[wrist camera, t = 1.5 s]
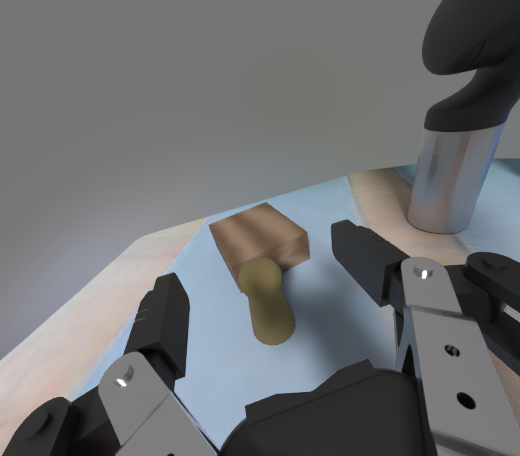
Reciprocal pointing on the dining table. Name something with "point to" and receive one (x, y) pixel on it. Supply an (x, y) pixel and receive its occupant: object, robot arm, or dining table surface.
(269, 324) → the cork
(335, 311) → the dining table surface
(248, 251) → the walnut block
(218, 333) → the dining table surface
